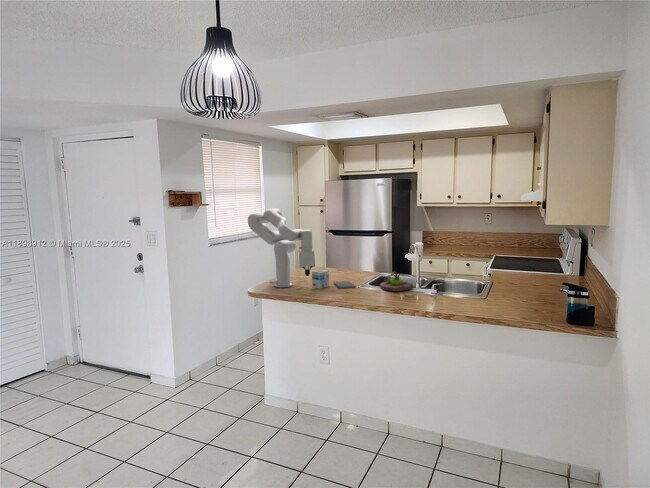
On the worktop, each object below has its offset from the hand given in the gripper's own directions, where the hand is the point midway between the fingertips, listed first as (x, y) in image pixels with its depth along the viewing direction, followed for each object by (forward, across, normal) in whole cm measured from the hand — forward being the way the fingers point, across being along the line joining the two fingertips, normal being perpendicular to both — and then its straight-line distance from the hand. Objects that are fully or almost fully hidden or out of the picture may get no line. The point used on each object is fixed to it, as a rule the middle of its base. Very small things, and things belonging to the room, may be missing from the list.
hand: (307, 275), depth 270 cm
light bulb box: (+8, +9, 0) cm, 12 cm away
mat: (+8, +25, -1) cm, 26 cm away
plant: (+9, +56, -15) cm, 59 cm away
